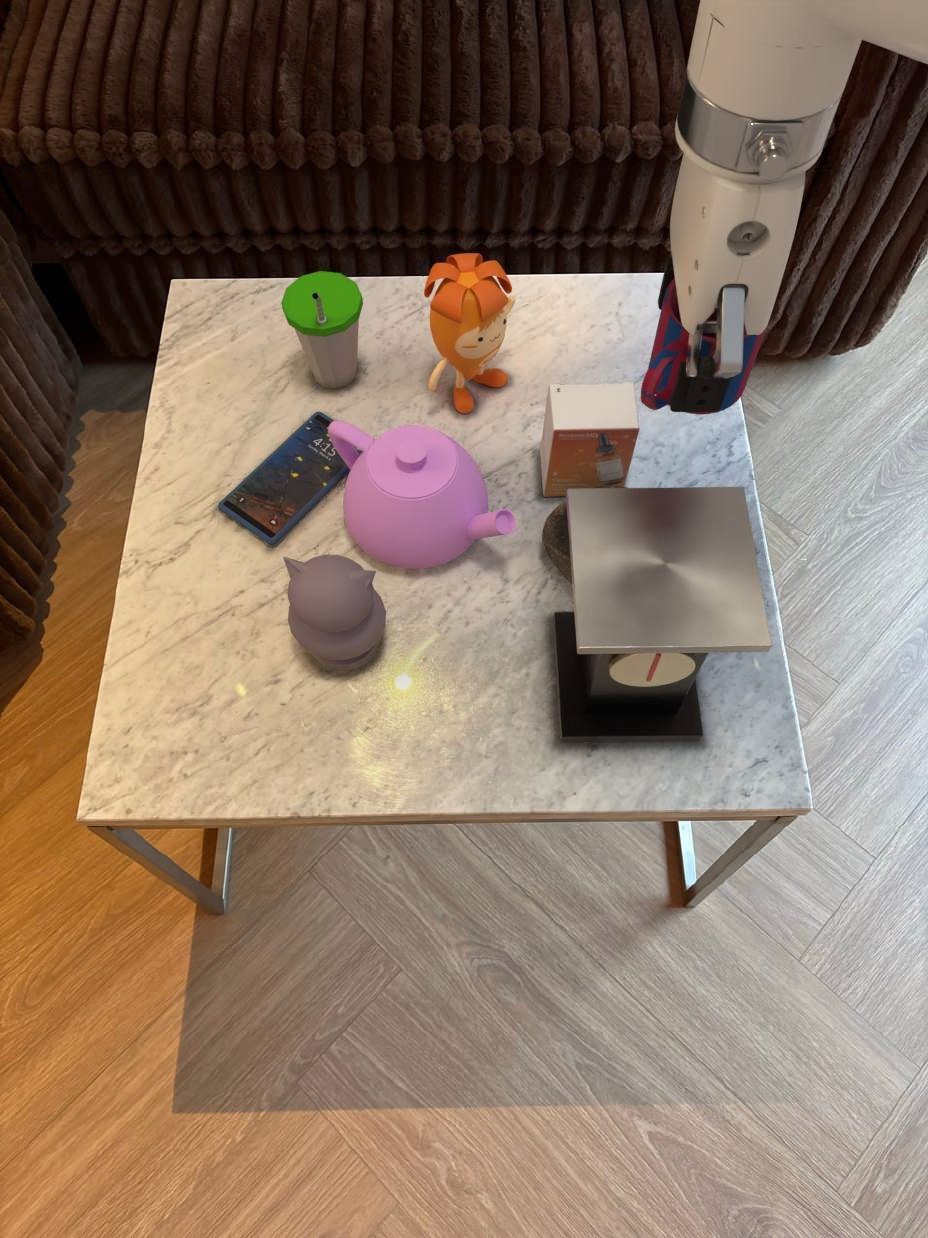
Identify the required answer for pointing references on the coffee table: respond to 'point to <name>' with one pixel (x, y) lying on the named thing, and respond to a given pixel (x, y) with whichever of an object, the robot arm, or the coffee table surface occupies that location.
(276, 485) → the smartphone
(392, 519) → the teapot
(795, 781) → the coffee table surface
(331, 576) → the cat figurine
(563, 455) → the small box
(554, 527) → the stone
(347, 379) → the cup
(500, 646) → the coffee table surface
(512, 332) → the coffee table surface
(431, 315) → the toy figure
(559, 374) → the coffee table surface
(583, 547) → the scale
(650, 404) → the cup
